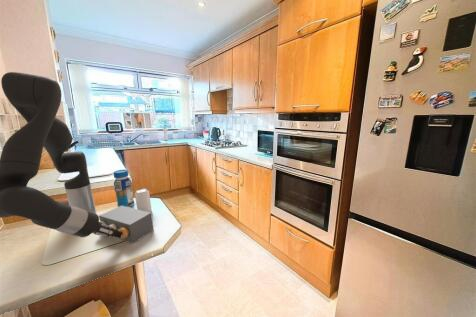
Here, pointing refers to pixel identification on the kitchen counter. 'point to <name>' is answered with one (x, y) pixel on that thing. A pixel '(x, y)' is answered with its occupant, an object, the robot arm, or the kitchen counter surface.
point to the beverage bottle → (123, 188)
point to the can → (143, 200)
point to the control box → (130, 221)
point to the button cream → (114, 226)
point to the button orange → (124, 232)
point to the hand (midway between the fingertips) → (120, 234)
